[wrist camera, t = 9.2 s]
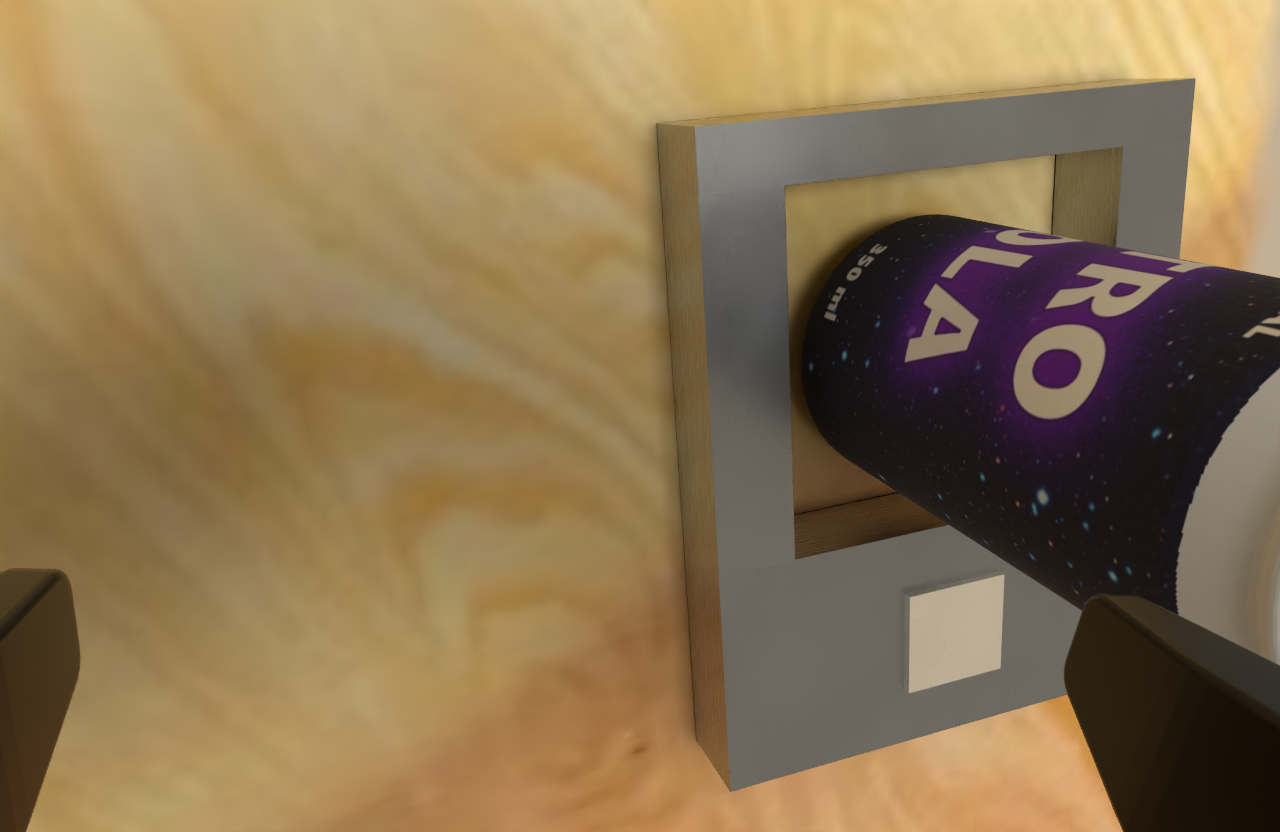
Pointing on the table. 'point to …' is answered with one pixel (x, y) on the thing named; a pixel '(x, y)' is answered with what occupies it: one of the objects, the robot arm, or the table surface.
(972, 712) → the grey flat frame
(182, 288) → the table surface
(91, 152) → the table surface
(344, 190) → the table surface
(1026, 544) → the beverage can
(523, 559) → the table surface
